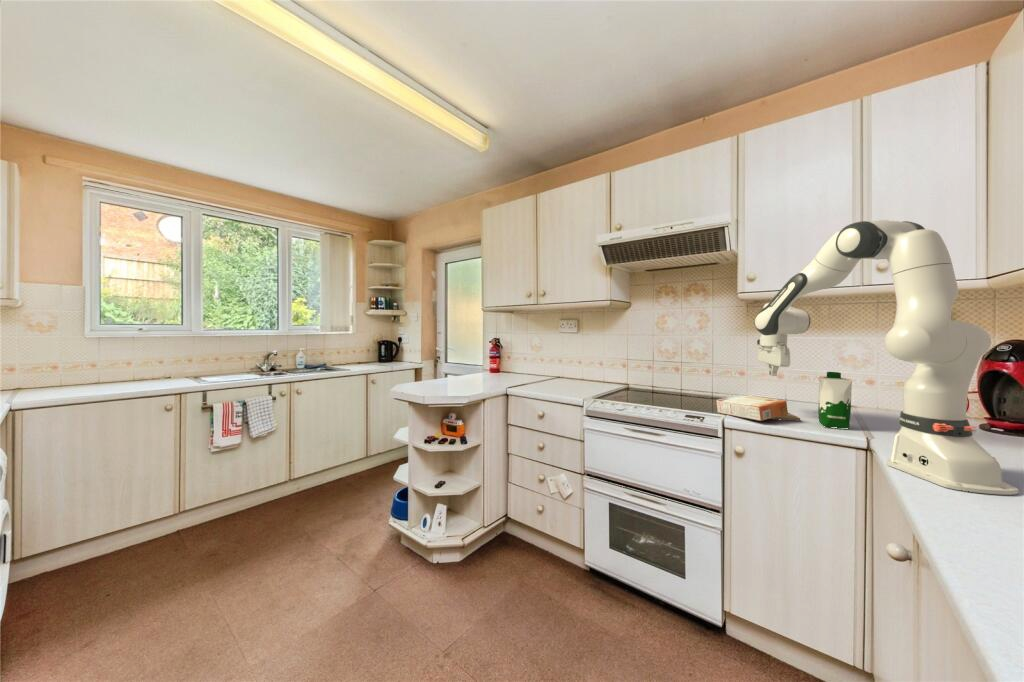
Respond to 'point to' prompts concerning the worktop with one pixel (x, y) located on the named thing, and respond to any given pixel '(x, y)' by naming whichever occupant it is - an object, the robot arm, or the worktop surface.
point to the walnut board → (787, 417)
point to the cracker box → (752, 407)
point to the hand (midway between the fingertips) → (772, 375)
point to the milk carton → (834, 400)
